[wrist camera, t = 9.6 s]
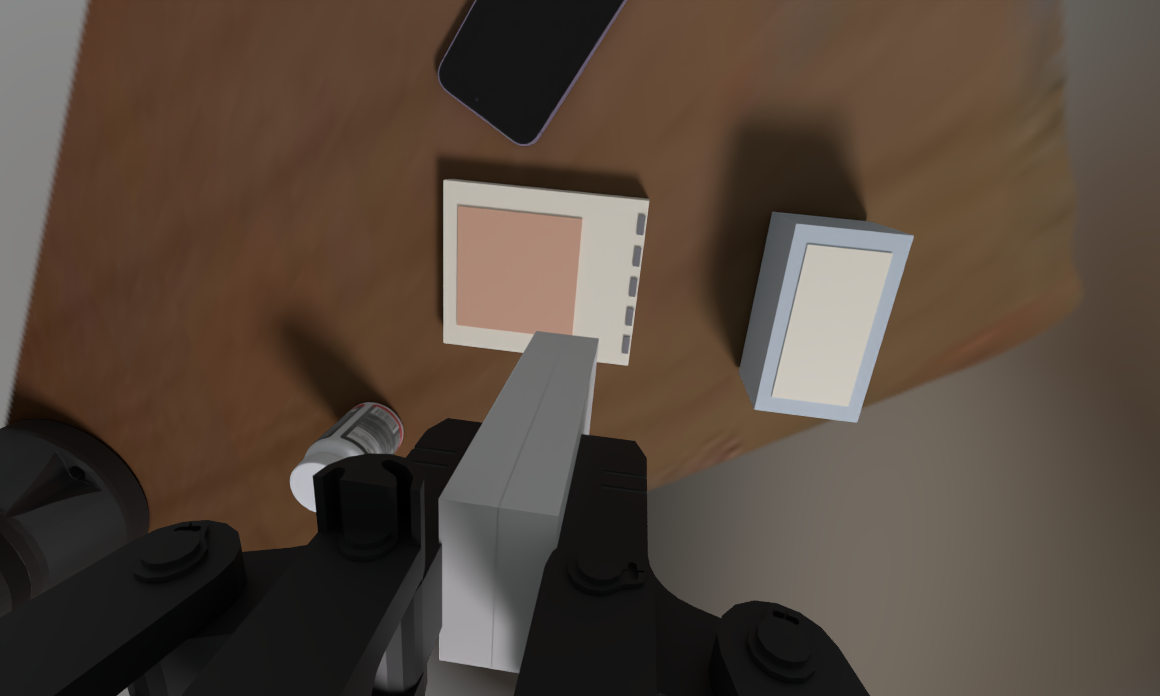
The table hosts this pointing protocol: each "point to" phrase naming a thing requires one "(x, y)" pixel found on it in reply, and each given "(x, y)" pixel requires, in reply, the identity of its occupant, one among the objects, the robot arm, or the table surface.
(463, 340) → the board
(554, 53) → the smartphone
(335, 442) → the pill bottle
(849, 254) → the blue framed panel box
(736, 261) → the table surface
